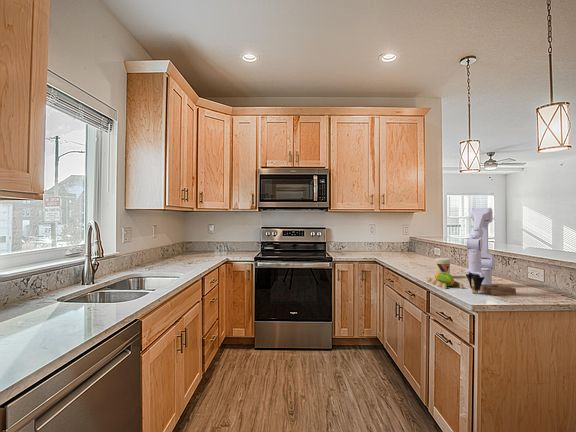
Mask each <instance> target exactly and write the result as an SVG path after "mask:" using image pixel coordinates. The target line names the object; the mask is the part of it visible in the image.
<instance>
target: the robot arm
mask: <svg viewBox="0 0 576 432" xmlns="http://www.w3.org/2000/svg"><path fill="white" fill-rule="evenodd" d="M470 218H471V220H472V221H473V227H472V228H471V229H470V232H469V238H468V239H467V240H466V250H467V251H466V252H467V256H468V258H467V259H468V262H467V263H468V268H465V270H464V271H465V273H466V274H465V276H466V278H467V280H468V283H469V287H470V289H472V287H471V286H472V280H471V279H473V281H474V288H475V290H478V291H480V287H481V284H493V276H492V275H493V274H492V273H493V272H492V271H493V270H495V265H496V262H495V256H494V255H493V254H492V253H490V252H489V224H490V223H492V222H493V219H494V218H493V209H492V207H475V208H474V207H472V208H471V209H470Z"/></svg>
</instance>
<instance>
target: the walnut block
mask: <svg viewBox="0 0 576 432" xmlns="http://www.w3.org/2000/svg"><path fill="white" fill-rule="evenodd" d="M479 292H483V293H486V294H488V295H491V296H505V295H507V296H509V295H510V296H511V295H512V296H513V295H514V296H515V295H517V288H515V287H512V286H509V285H505V284H502V283H492V284H481V287H480V290H479Z"/></svg>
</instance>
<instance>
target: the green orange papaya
mask: <svg viewBox="0 0 576 432" xmlns="http://www.w3.org/2000/svg"><path fill="white" fill-rule="evenodd" d="M442 273H444V274H436V273H435V274H434V278H435V280H437V281H440V282H442V283H444V284H446V285H447V287H452V286H454V285H453V284H454V281H455V278H454V277H453V275H452V274H451V273H450V274H448V273H446V272H442Z"/></svg>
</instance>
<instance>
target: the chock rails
mask: <svg viewBox="0 0 576 432" xmlns="http://www.w3.org/2000/svg"><path fill="white" fill-rule="evenodd" d="M426 282H428V283H430V284H433V285H434V286H437V287H439V288H442V289H444V290H447V288H448V286H447V285H446V284H444V283H442V282H440V281H437V280H436V278H435V279H434V278H432V277H430V276H426ZM452 286H454V287H457V288H458V289H463V290H464V283H462V282H458V281H456V280H454V284H453V285H452Z"/></svg>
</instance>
